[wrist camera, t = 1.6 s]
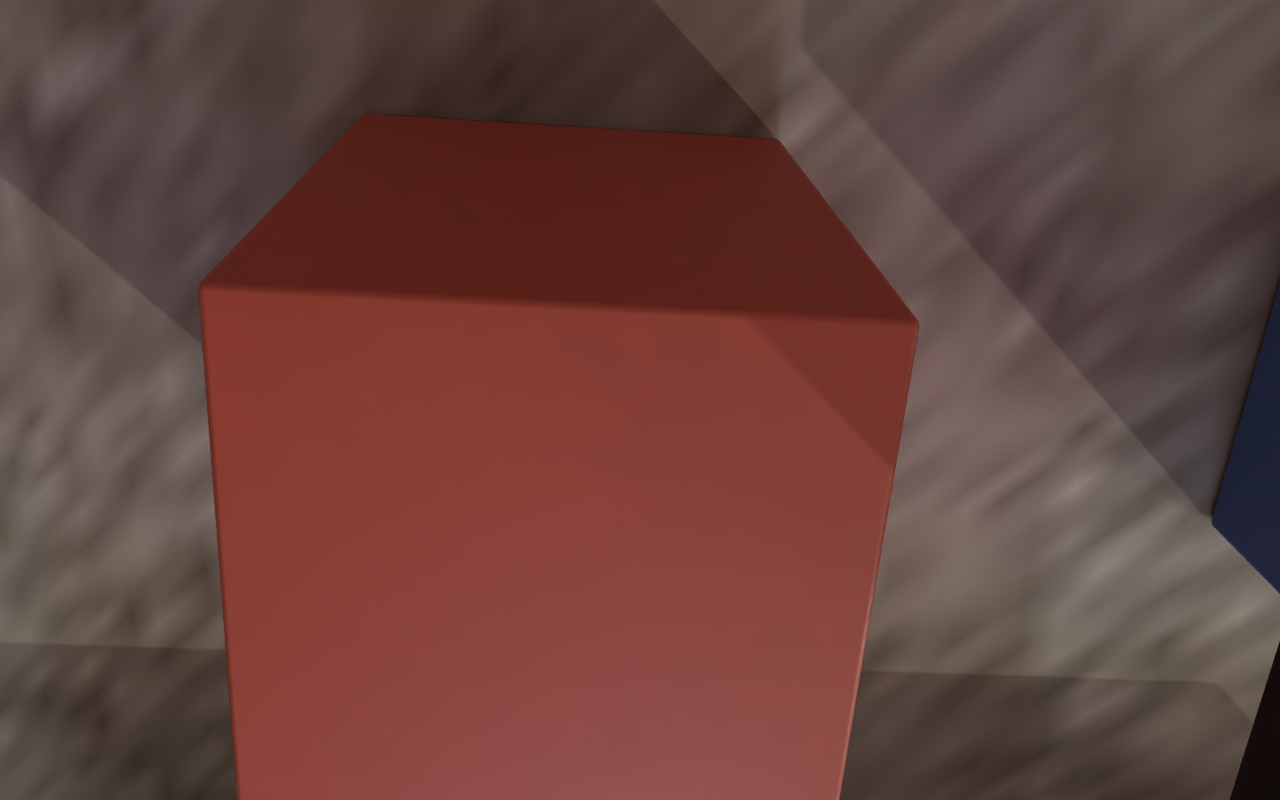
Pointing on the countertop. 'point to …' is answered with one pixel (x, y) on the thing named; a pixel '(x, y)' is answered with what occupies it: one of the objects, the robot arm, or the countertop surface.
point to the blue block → (1256, 466)
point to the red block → (549, 468)
